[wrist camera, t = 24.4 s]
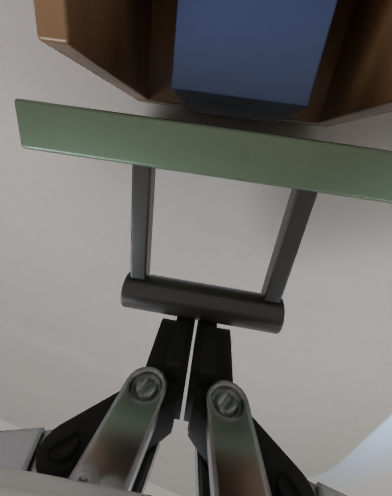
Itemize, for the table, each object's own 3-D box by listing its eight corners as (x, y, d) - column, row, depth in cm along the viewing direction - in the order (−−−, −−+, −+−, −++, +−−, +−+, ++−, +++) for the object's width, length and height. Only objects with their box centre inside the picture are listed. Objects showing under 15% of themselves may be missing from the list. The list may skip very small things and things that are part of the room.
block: (305, 3, 9) (368, -107, 5) (276, 123, 11) (307, 106, 7) (201, -9, 10) (186, -124, 6) (188, 111, 11) (170, 88, 7)
